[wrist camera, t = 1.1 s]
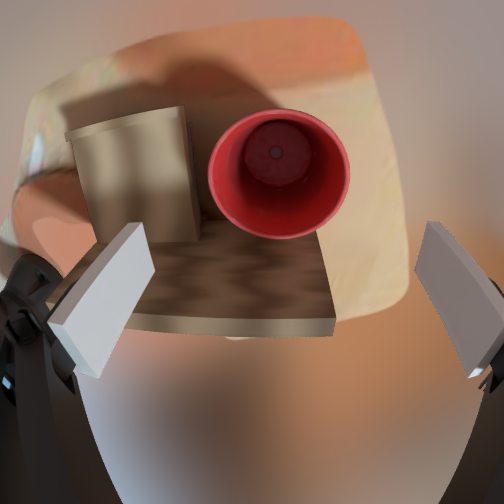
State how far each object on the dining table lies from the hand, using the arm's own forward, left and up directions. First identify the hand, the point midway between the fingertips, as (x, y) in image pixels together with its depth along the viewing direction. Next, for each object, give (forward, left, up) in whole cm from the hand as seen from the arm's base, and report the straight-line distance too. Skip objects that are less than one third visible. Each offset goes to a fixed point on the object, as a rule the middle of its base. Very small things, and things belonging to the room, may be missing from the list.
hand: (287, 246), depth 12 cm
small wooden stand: (-15, -1, -20) cm, 25 cm away
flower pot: (0, 0, -20) cm, 20 cm away
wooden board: (-9, -9, -20) cm, 23 cm away
